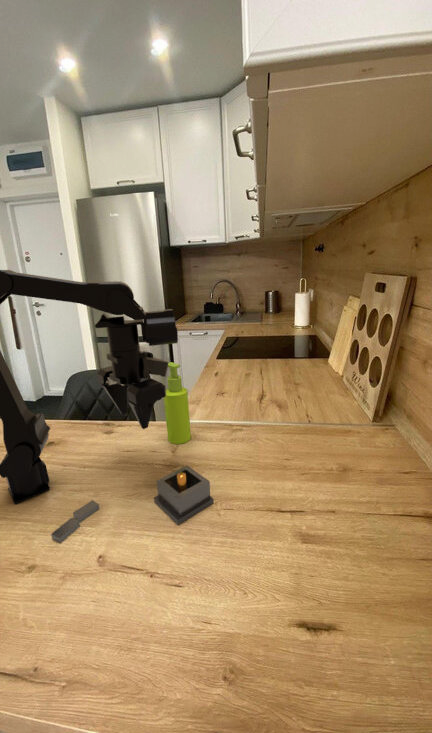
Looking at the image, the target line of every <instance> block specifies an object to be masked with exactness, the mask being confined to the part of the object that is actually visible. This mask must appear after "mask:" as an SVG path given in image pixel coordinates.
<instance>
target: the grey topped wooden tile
mask: <svg viewBox="0 0 432 733" xmlns="http://www.w3.org/2000/svg"><path fill="white" fill-rule="evenodd" d="M99 510H101V509H100V504H99V503H98V502H96V501H95V500H93V499H92V500H91V501H89V502H88V503H86V504H84V505H83V506H81V507H80V508H77V509H76V510H75V511H72V515H73V519H75V520H77V521H79V523H81V522H83V521H85V520H86V519H88V517H90V516H92V515H93V514H95V513H96V512H97V511H99Z"/></svg>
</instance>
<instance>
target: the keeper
mask: <svg viewBox="0 0 432 733" xmlns="http://www.w3.org/2000/svg"><path fill="white" fill-rule="evenodd" d="M177 482H178V490H177V492H178V493H179V494H180V493H182V492H183V491H185V490H187V489H189V488H190V487H189V486H188V485H187V484H186V474H185V473H183V472H181V473H178V474H177ZM214 499H215V498H214V497H212V496H211V495H210V498H209V499H207V500H206V501H204V502H202V503H201V504H199V505H198V506H196V507H194V508H193V509H191V510H189V511H188V512H186V513H185V514H183V515H181V516H180V517H179V516H178V515H177V514H176V513H175V512H174V511H173V510H172V509H171V508H170V507H169V506H168V505H166V504H165V503H164V502H163V501H162V500H161V499H160V498H159V497H158V494H157V495H155V496H154V497H153V502H154V503H155V504H156V505H157V506H158V508H160V510H162V511H163V512H164V513H165V514H166V515H167V516H168V517H169V518H170V519H171V520H172V521H173V522H175V523H176V525H177V526H180V525H181V524H182V523H184V522H186V521H187V520H189V519H191V518H192V517H193V516H195V515H197V514H199V513H200V512H202V511H203V510H205V509H206V508H208V507H210V506H211V505H213V504H214Z"/></svg>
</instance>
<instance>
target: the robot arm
mask: <svg viewBox="0 0 432 733" xmlns="http://www.w3.org/2000/svg"><path fill="white" fill-rule="evenodd" d="M12 295H13V296H20V297H21V296H22V297H29V298H35V299H45V300H51V301H58V302H59V301H60V302H65V303H66V302H67V303H73V304H81V305H83V306H87V307H90V308H92V309H93V310H94V309H95V310H97V311H101V312H104V313H102V314H101V316H100V319H99V320H97V321H96V322H95V325H94V327H95V329H104V328H106V334H107V340H108V349H109V353H106V359H107V360H108V361H110V362H111V365H110V366H106V367H102V368H100V369H99V370H98V372H97V373H96V375H97V382H99V383H100V384H101V387H102V388H103V389H104V391H105V392H106V393H107V395H108V396H109V399H111V401H112V403H114V405H115V407H116V408H117V410H118V411H119V413H120V414H121V415H123V416H124V415H127V414H128V404H129V406H130V408H131V410H132V412H133V414H134V415H135V417H136V420H137V422H138V424H139V425H140V427H141V429H142V430H145V429H148V427H149V424H150V420H151V416H152V411H153V408H154V406H155V404H156V403H157V402H158V401H160V400H162V399H164V397H166V389H167V387H166V385H165V384H163V383H162V382H161V381H158V380H156V379H153V378H150V375H151V376H152V375H154V376H161V377H163V378H165V377H166V375H167V372H168V369H169V367H168V363H169V362H170V361H166V360H163V359H161V358H157V357H154V354H153V353H152V352H149V351H145V350H144V351H142V350H141V346H140V339H139V329H138V326H140V330H141V331H140V332H141V337H142V338H141V339H142V342H146V344H148V346H149V347H153V346H162V345H172V344H173V345H174V344H175V345H176V344H178V338H179V335H178V334H179V333H178V326H176V325H177V324H176V318H175V312H174V309H172V308H168V309H164V310H156V311H155V310H154V311H153V310H152V311H145V309H144V308H143V306H141V305H140V304H138V302H137V301H136V300H135V293H134V292H133V290H132V288H131V287H130V286H129V285H128V283H125V282H123V281H114V280H113V281H75V280H70V279H63V278H56V277H49V276H43V275H35V274H30V273H29V274H28V273H22V272H17V271H14V270H12V269H11V270H10V269H0V306H1V305H2V304H3V303H4V302H5V301H6V300H8V298H9V297H11V296H12ZM105 313H107V314H110V315H113V316H108V315H107V314H105ZM125 316H126V317H128V318H129V319H127V320H126V319H125ZM149 378H150V379H149ZM142 379H144V380H142ZM145 379H146V380H145ZM0 420H1V421H2V434H3V437H2V438H3V439H2V440H3V444H4V447H5V451H6V454H5V456H4V458H3V459H2V460H1V461H0V477H1V478H2V479H6V482H7V485H8V488H7V489H8V492H9V495H10V498H11V500H12V502H13V504H14V505H17V504H19V503H22V502H24V501H26V500H29V499H31V498H32V499H33V497H36V496H39V495H40V494H43V493H45V492H49V490H50V489H51V487H50V485H49V483H50V476H49V473H48V468H47V465H46V463H45V462H44V460H42V458H41V457H40V456H41V454H42V452H43V450H44V448H45V446H46V443H47V442H48V440H49V436H50V434H49V432H50V431H51V427H50V425H48V424H47V422H46V420H45V415H44V413H43V412H40V413H38V414H35V413H33V412H32V411H31V410H29V408H28V405H26V402H25V400H24V398H23V396H22V394H21V392H20V389H19V388H18V384H17V383H16V381H15V379H14V376H13V375H12V372H11V370H10V369H9V366H8V363H7V362H6V359H5V358H4V355H3V353H2V351H1V350H0Z"/></svg>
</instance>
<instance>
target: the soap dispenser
mask: <svg viewBox="0 0 432 733" xmlns="http://www.w3.org/2000/svg"><path fill="white" fill-rule="evenodd" d="M168 362H169V363H168V369H169V373H170V375H169V376H168V377H167V378H166V380H167V388H166V397H163V404H164V411H165V422H166V433H167V441H168V442H169V443H171V444H174V445H182V444H185V443H187V442H189V441H190V440H191V438H192V436H191V435H192V433H191V421H190V408H189V394H188V389H187V388H186V387H183V382H182V376H181V375H178V368H180V367H181V365H180V364H178V363H176V362H172V361H168Z"/></svg>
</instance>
